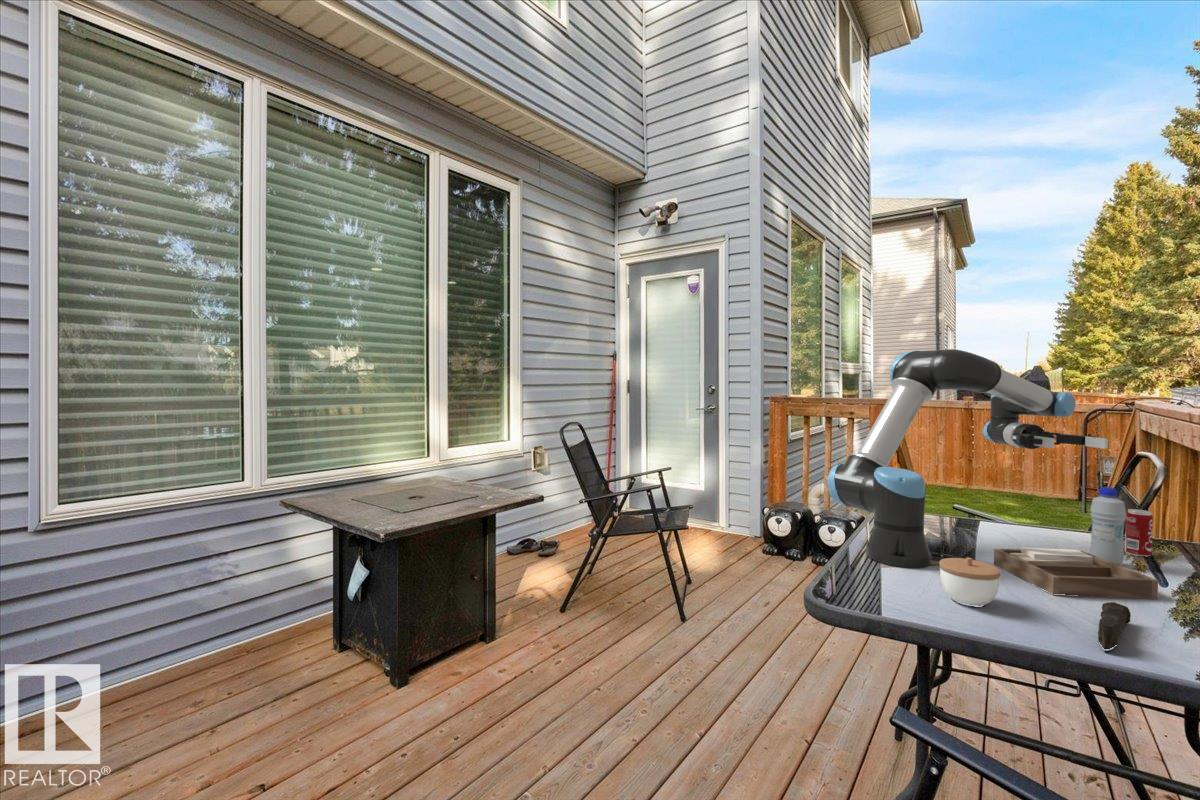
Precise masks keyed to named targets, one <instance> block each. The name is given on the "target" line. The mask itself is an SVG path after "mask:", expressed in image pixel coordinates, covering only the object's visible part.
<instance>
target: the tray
mask: <svg viewBox="0 0 1200 800" xmlns="http://www.w3.org/2000/svg"><path fill="white" fill-rule="evenodd" d="M1079 551H1080V552H1083V553H1085V554H1087V555H1090V556H1092V557H1093V565H1095V566H1073V565H1037V564H1030V563H1028V562H1026V561H1023V560H1021V559H1019V558H1017V557H1015V556H1013V555H1011V554H1010V553H1022V552H1021V548H1020V549H1019V548H1018V549H1017V548H1016V549H1015V548H1014V549H1013V548H1011V549H1009V548H994V549H993V566H994V565H995V567H997V568H1000V569H1002V570H1003V571H1006V572H1008V573H1010V574H1012V575H1014V576H1015V577H1017V578H1019V579H1021V580H1022V581H1025V582H1027V583H1029V584H1030V583H1031V584H1030V585H1032V584H1034V585H1036V586H1038V587H1040V588H1042V589H1044V590H1046V591H1048V592H1050V593H1052V594H1065V595H1078V596H1077V597H1089V598H1090V596H1091V597H1094V598H1096V597H1097V598H1098V597H1099V598H1124V599H1126V598H1128V599H1130V598H1131V599H1158V597H1159V594H1158V593H1159V580H1158V579H1156V578H1153V577H1152V576H1151V577H1150V576H1148V575H1145V574H1142V573H1141V572H1138V571H1135V570H1132V569H1130V568H1128V567H1124V566H1122V565H1121V566H1120V565H1117V564H1115V563H1112V562H1110V561H1107V560H1104V559H1102V558H1099V557H1097V556H1094V555H1092V554H1090V552H1089V553H1088V552H1087V551H1083V550H1079ZM1034 585H1033V586H1034ZM1036 586H1035V587H1036ZM1038 587H1037V588H1038ZM1040 588H1039V589H1040ZM1042 589H1041V590H1042ZM1044 590H1043V591H1044ZM1046 591H1045V592H1046ZM1048 592H1047V593H1048Z"/></svg>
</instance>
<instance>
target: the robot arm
mask: <svg viewBox="0 0 1200 800" xmlns="http://www.w3.org/2000/svg"><path fill="white" fill-rule="evenodd" d="M889 371H890V372H891V373H890V374H889V378H890V381H891V382H890V386H891V387H892V389H893V390H892V392H891V393H890V395H889V397H887V398H888V399H887V400H886V402H885V403H884V406H883V407H882V409H881V411H880V412H879V415H878V416H877V418H876V419H875V421H874V423H873V425H872V427H871V428H870V430H869V431H868V434H867V435H866V436H865V439H864V441H863V443H862V444H861V445H860V448H859V449H858V452H855V453H851V454H849V455H848V458H847V459H846V460H845V463H839V464H836V465H834V466H833V467H832V468H830V470H829V473H828V476H827V482H826V483H827V488H828V489H827V490H828V492H829V493H828V494H829V495H830V496H831V498H832V499H833V500H834V501H835V502H837V503H838V504H840V505H844V506H845V507H848V508H853V509H856V510H857V509H858V510H861V511H865V512H869V513H873V528H872V531H871V533H870V535H869V538H868V542H867V543H866V547H865V555H866V554H867V555H868V556H869V557H870V558H871V560H872V559H873V561H874V562H878V563H880V564H883V565H889V566H893V567H900V568H911V569H913V568H914V569H915V568H916V569H917V568H919V569H920V568H926V567H929V566H931V565H932V553H931V551H930V549H929V544H928V541H927V537H926V534H925V513H926V512H925V507H926V506H925V505H926V494H927V492H926V485H925V480H924V477H923V476H922V475H921V474H919V473H917V472H915V471H913V470H909V469H906V468H898V467H894V466H893V467H892V466H889V465H890V463H891V461H892V459H893V457H894V455H895V454H896V452H897V450H898V448H899V446H900V444H901V443H902V441H903V439H904V437H905V435H906V433H907V432H908V430H909V428H910V426H911V425H912V423H913V421H914V419H915V417H916V416H917V414H918V412H919V410H920V408H921V406H922V404H923V403H926V402H930V401H931V400H932V399H933V397H934V395H935V394H936V392H937V391H938V390H941V391H943V390H944V391H945V390H946V391H947V390H948V391H949V390H957V391H958V390H960V391H971V392H975V393H977V394H978V393H979V394H983V393H984V394H985V393H986V394H989V395H991V396H990V418H989V421H987V422H986V423H985V425H984V427H983V430H982V433H983V436H984V438H985V439H986V440H988V442H989V441H990V442H992V443H995V444H999V445H1005V446H1011V447H1013V446H1014V447H1015V448H1016V449H1020V448H1022V449H1023V448H1024V449H1029V450H1036V449H1039V448H1041V447H1043V448H1047V449H1055V446H1059V445H1061V444H1063V445H1064V444H1066V445H1077V446H1085V447H1091V448H1097V449H1103V450H1107V449H1108V448H1109V446H1108V445H1109V438H1103V437H1097V436H1095V435H1092V434H1090V433H1088V434H1087V435H1077V434H1066V433H1059V432H1050V431H1045V430H1044V429H1043V427H1041V426H1039V425H1038V424H1033V423H1025V422H1019V420H1020V415H1021V416H1037V417H1039V416H1040V417H1053V418H1061V417H1062V418H1065V417H1066V418H1067V417H1068V418H1069V416H1071V415H1072V414H1073V413H1074V412H1075V410H1076V399H1075V396H1074V395H1073V394H1072V393H1071V392H1068V391H1067V392H1066V391H1061V390H1060V391H1053V390H1050V389H1047V388H1046V387H1042V386H1040V385H1038V384H1036V383H1034V382H1032V381H1030V380H1026V379H1024V378H1023V377H1020V376H1018V375H1015V374H1013V373H1011V372H1010V371H1009V372H1008V371H1007V370H1004V369H1003V368H1002V367H1001V366H1000V364H998V363H997V362H996V361H993V360H991V359H988V358H986V357H984V356H981V355H978V354H975V353H972V352H969V351H966V350H961V349H952V348H949V349H947V348H946V349H937V350H936V349H935V350H934V349H933V350H911V351H907V352H906V351H905V352H903V353H901V354H899V355H898V356H897V357H896V358H895V359H894V360H893V362H892V363H891V366H890V368H889ZM1055 440H1056V441H1055ZM867 555H866V556H867ZM868 556H867V557H868ZM869 557H868V558H869ZM870 558H869V559H870Z"/></svg>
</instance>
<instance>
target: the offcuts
mask: <svg viewBox="0 0 1200 800" xmlns="http://www.w3.org/2000/svg"><path fill="white" fill-rule="evenodd" d="M1020 549H1021V552H1022V553H1010V554H1011V555H1013V556H1015V557H1017V558H1019V559H1021V560H1023V561H1026V562H1028V563H1030V564H1037V565H1073V566H1095V565H1093V557H1092V556H1090V555H1087V554H1085V553H1083V552H1080V551H1081V550H1079V549H1069V548H1068V549H1066V548H1065V549H1064V548H1063V549H1062V548H1045V547H1044V548H1043V547H1024V546H1023V547H1022V546H1021V547H1020Z"/></svg>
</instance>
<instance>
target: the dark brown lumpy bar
mask: <svg viewBox="0 0 1200 800" xmlns="http://www.w3.org/2000/svg"><path fill="white" fill-rule="evenodd" d="M1131 616H1132V615H1131V611H1130V609H1129V607H1128V606H1126V605H1123V604H1120V603H1117V602H1115V601H1111V602H1110V601H1109V602H1108V601H1107V602H1105V603H1104V602H1103V603H1102V606H1101V612H1100V617H1101V618H1100V620H1099V621H1098V632H1097V634H1098V635H1097V638H1098V639H1097V640H1098V643H1099V642H1100V644H1101V645H1102V647H1103V648H1104V649H1110V648H1112V647H1114V646H1115V645H1117V644H1119V640H1120V638H1121V635H1122V633H1123V630H1124V629H1125V625H1127V624H1129V623H1130V622H1131Z"/></svg>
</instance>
